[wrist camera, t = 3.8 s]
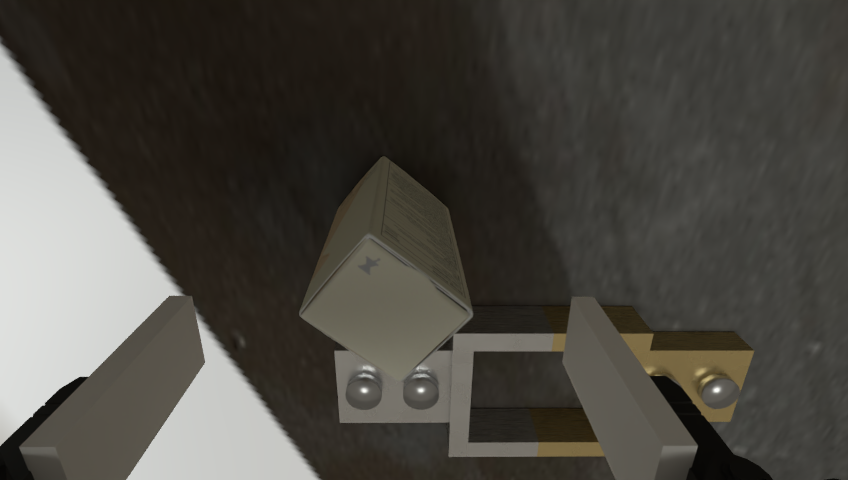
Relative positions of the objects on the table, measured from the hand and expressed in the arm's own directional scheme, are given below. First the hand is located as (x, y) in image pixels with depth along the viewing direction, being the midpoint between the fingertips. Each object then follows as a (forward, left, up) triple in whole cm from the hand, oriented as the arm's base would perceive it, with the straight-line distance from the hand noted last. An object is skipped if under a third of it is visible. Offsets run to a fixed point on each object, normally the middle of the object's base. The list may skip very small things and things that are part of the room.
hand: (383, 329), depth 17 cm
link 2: (+15, -11, -11) cm, 22 cm away
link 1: (+3, -11, -12) cm, 16 cm away
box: (0, 0, -12) cm, 12 cm away
